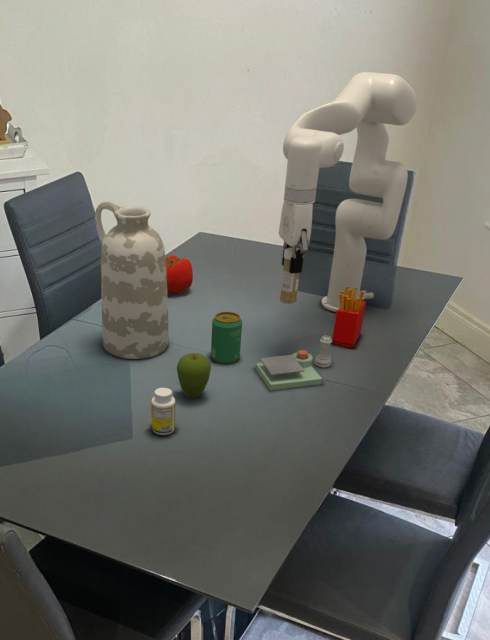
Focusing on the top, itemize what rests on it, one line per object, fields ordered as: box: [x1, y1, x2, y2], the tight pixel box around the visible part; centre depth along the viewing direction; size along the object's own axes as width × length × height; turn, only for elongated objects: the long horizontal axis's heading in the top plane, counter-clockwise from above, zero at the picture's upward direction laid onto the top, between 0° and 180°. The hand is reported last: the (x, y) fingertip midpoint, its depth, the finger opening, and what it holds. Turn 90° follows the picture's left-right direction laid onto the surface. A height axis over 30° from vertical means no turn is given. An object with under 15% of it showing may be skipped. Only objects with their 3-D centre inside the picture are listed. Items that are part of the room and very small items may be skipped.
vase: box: [94, 201, 170, 360], centre depth 198 cm, size 20×19×38 cm
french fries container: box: [331, 286, 367, 348], centre depth 208 cm, size 7×9×14 cm
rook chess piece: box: [314, 334, 332, 369], centre depth 198 cm, size 4×4×8 cm
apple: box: [176, 352, 212, 399], centre depth 184 cm, size 9×8×12 cm
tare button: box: [297, 349, 309, 360], centre depth 196 cm, size 3×3×2 cm
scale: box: [254, 351, 323, 391], centre depth 194 cm, size 15×12×4 cm
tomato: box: [165, 254, 194, 295], centre depth 238 cm, size 14×13×10 cm
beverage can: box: [210, 311, 243, 365], centre depth 200 cm, size 8×8×12 cm
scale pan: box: [259, 354, 305, 375], centre depth 192 cm, size 9×9×1 cm
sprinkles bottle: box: [279, 247, 300, 305], centre depth 190 cm, size 5×5×13 cm
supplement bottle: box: [150, 387, 176, 436], centre depth 171 cm, size 6×6×10 cm
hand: (291, 268), depth 189 cm, fingers closed on sprinkles bottle, 4 cm apart
